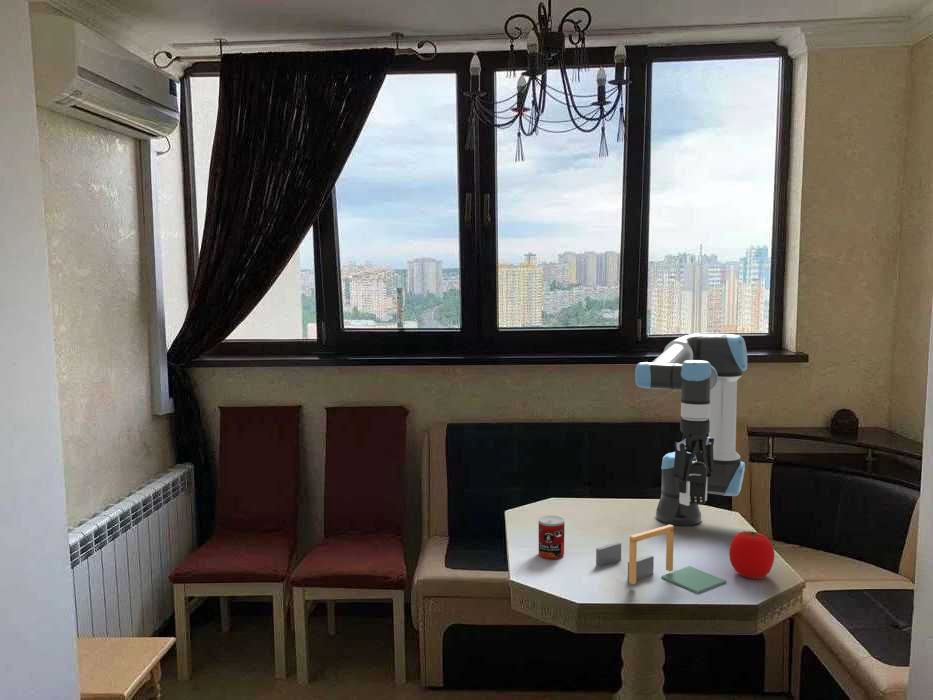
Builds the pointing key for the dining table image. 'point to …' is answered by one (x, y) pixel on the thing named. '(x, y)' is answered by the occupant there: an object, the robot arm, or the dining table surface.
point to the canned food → (551, 537)
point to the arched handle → (644, 535)
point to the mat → (693, 579)
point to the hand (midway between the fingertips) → (693, 501)
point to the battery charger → (697, 483)
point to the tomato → (751, 554)
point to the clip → (614, 554)
